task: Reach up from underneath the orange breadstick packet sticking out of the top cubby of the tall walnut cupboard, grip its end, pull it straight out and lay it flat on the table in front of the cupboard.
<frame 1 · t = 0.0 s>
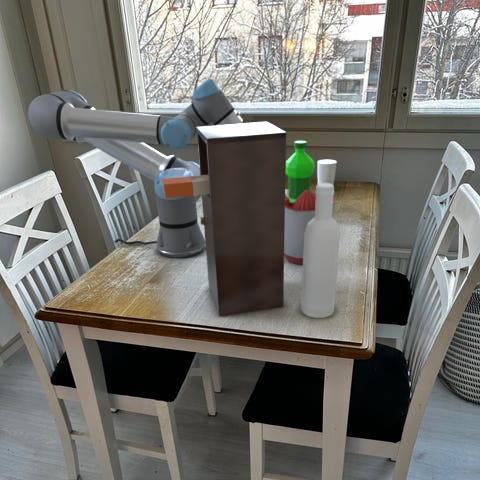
hand: (275, 188, 146), 15 cm above the table, tool tilted 35°, fingers open, 13 cm apart
white cup: (325, 185, 200), on the table
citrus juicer: (302, 256, 139), on the table
cupboard: (244, 298, 118), on the table
bottle: (317, 310, 112), on the table
syrup box: (278, 234, 154), on the table
packet: (214, 190, 102), point 28 cm above the table, touching cupboard
plastic bottle: (298, 213, 171), on the table
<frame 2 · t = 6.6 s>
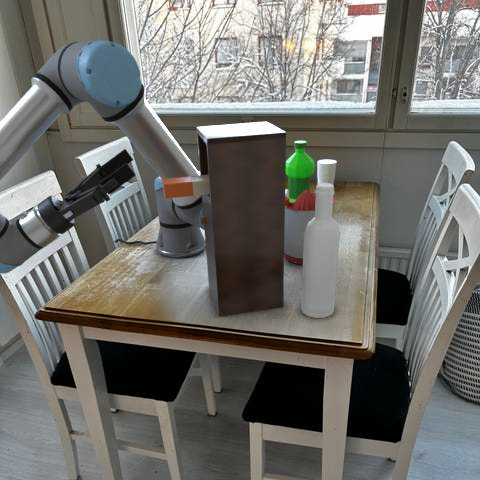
hand: (130, 161, 95), 36 cm above the table, tool pointing upward, fingers open, 13 cm apart
nothing on the table moved.
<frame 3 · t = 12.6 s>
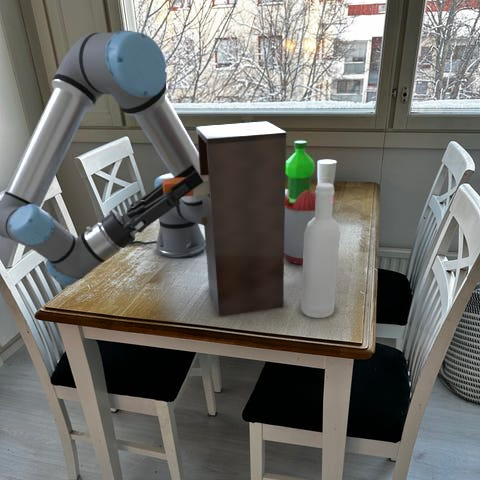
hand: (197, 172, 99), 32 cm above the table, tool pointing upward, fingers closed on packet, 5 cm apart
packet: (214, 190, 102), point 28 cm above the table, touching cupboard, gripper
everything else where it was.
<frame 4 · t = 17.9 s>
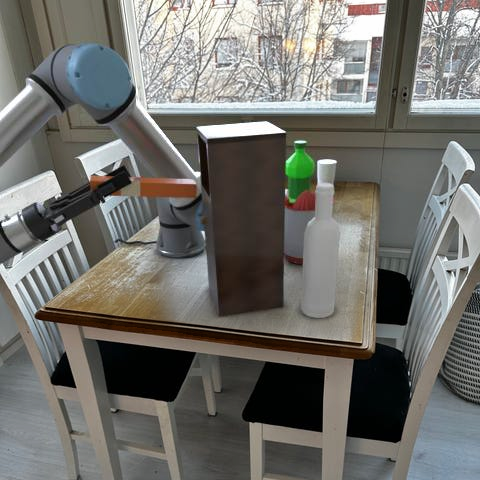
hand: (127, 173, 98), 33 cm above the table, tool pointing upward, fingers closed on packet, 5 cm apart
packet: (144, 193, 101), point 28 cm above the table, tilted 8°, touching gripper
everything else where it was.
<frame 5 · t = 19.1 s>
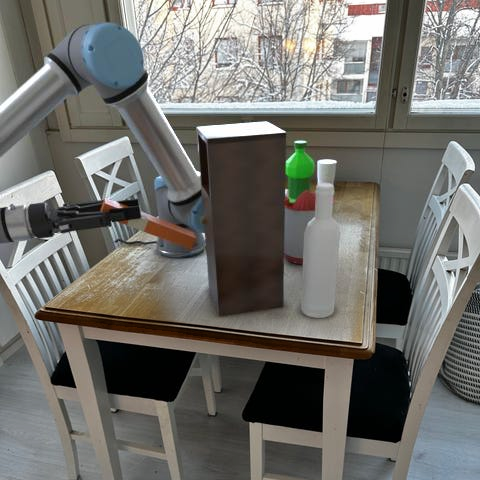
hand: (139, 208, 105), 24 cm above the table, tool horizontal, fingers closed on packet, 5 cm apart
packet: (147, 230, 108), point 19 cm above the table, tilted 29°, touching gripper
everything else where it was.
when the fingers open (11 cm above the table, at t = 23.3 s): packet drops 5 cm, on the table.
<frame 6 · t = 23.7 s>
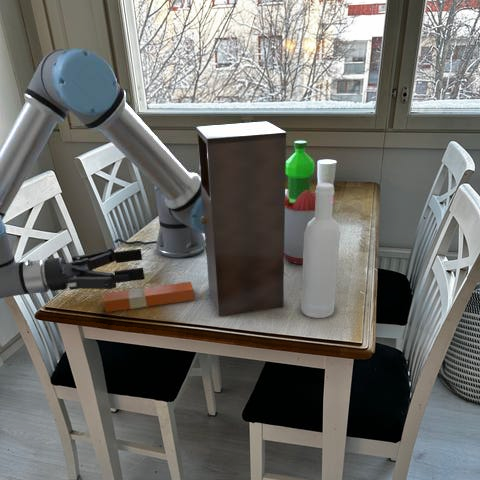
hand: (142, 263, 112), 11 cm above the table, tool horizontal, fingers open, 11 cm apart
packet: (150, 301, 118), on the table
everything else where it was.
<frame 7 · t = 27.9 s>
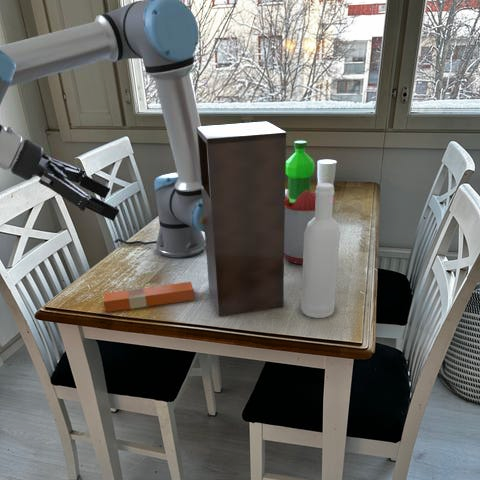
hand: (111, 204, 106), 25 cm above the table, tool tilted 50°, fingers open, 13 cm apart
nothing on the table moved.
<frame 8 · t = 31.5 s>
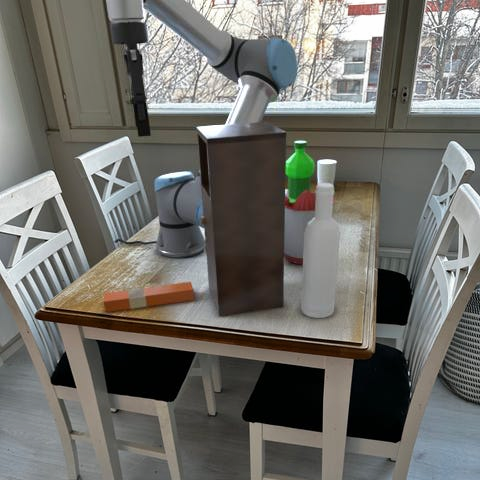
hand: (143, 131, 107), 39 cm above the table, tool pointing down, fingers open, 13 cm apart
nothing on the table moved.
at the end: packet inside the target area (0.2 cm from its centre), on the table; packet touching table; the gripper is holding nothing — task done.
